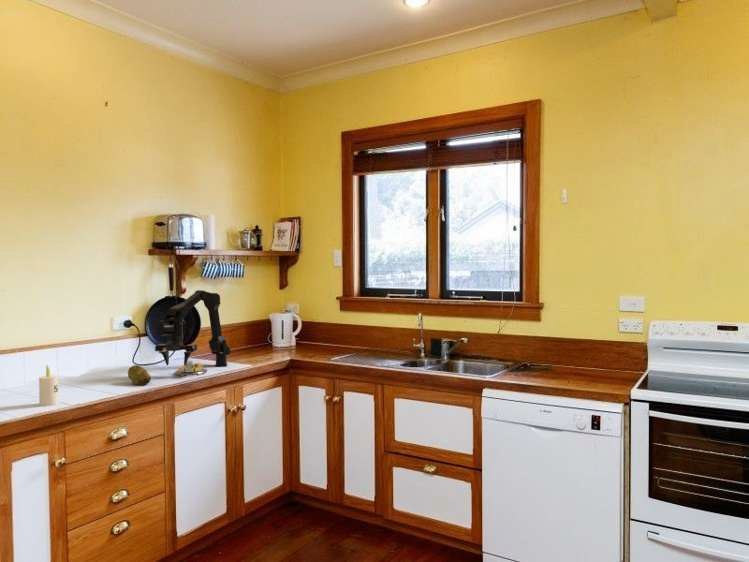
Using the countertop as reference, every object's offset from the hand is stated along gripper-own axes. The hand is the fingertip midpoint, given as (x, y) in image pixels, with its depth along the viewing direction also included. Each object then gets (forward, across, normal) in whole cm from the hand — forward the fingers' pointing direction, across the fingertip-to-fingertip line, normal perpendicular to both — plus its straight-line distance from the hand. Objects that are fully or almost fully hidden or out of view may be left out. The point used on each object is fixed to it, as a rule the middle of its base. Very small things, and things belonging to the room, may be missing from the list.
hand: (176, 365), depth 275 cm
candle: (+6, -29, -56) cm, 63 cm away
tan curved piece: (+4, +5, +4) cm, 8 cm away
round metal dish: (+5, +5, +7) cm, 10 cm away
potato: (+6, -10, -18) cm, 22 cm away
